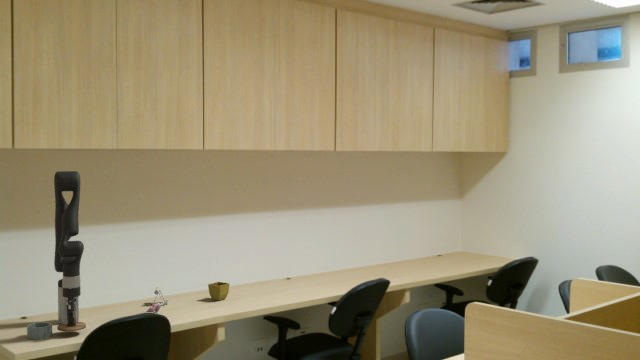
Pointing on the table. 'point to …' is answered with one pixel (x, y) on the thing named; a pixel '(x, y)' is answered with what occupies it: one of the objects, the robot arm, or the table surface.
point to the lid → (71, 327)
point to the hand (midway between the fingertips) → (71, 323)
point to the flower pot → (218, 290)
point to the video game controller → (154, 308)
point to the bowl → (39, 330)
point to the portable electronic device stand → (160, 295)
